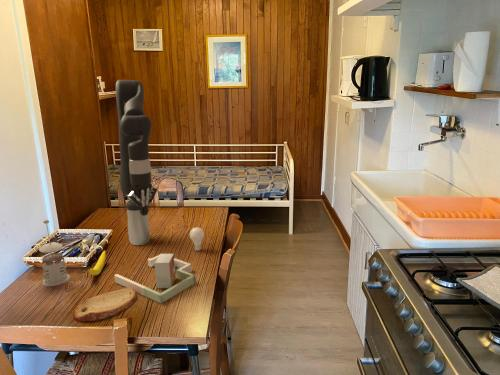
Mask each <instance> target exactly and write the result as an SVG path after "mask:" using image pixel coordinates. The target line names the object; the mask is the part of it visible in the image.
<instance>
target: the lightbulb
mask: <svg viewBox="0 0 500 375" xmlns="http://www.w3.org/2000/svg"><path fill="white" fill-rule="evenodd" d="M204 236H205V232H204V230H203V229H202V228H201V227H198V226H197V227H196V226H195V227H193V228H192V229H191V230H190V231H189V237H190V239H191V241H192V243H193V245H194V250H195V251H197V252H199V251H200V250H202V249H201V248H202V247H201V244H202V240H203V239H204Z"/></svg>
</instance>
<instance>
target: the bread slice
mask: <svg viewBox="0 0 500 375" xmlns="http://www.w3.org/2000/svg"><path fill="white" fill-rule="evenodd" d="M137 298H138V293H137V292H135V291H134V290H133V289H130V288H126V287H124V288H120V289H115V290H112V291H108V292H105V293H101V294H97V295H95V296H92V297H90V298H87V299H84V300H83V301H81V302H80V303H79V304H78V305H77V306H76V308H75V309H74V312H73V316H72V319H73V320H74V321H76V322H78V323H83V322H96V321H102V320H104V319H107V318H109V317H112V316H115V315H117V314H119V313H120V312H123V311H125V310H126V309H128V308H129V307H130V306H132V305H133V304H134V303H135V302H136V301H137Z"/></svg>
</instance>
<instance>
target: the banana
mask: <svg viewBox="0 0 500 375" xmlns="http://www.w3.org/2000/svg"><path fill="white" fill-rule="evenodd" d="M106 254H107V253H106V250H103V251H102V253H101V254H100V256H99V257H98V260H97V262H96V264H95V266H94V267H93V268H90V267H88V268H87V272H88V274H89V275H91V276H98V275H100V274H101V273H102V271H103V268H104V265H105V261H106V257H107V256H106Z"/></svg>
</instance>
